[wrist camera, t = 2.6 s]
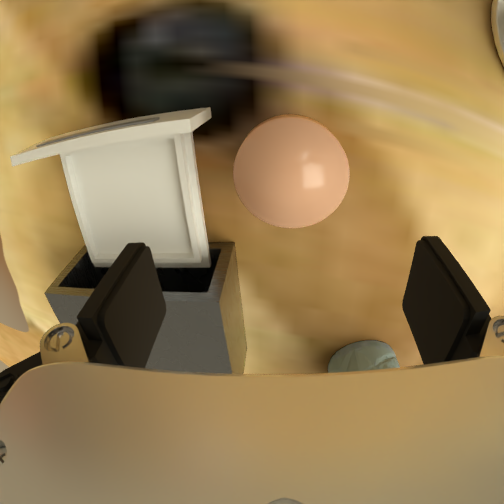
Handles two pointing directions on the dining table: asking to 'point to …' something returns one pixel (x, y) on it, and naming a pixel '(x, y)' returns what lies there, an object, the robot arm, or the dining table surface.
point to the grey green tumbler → (363, 357)
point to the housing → (176, 311)
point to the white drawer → (135, 186)
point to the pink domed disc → (291, 171)
